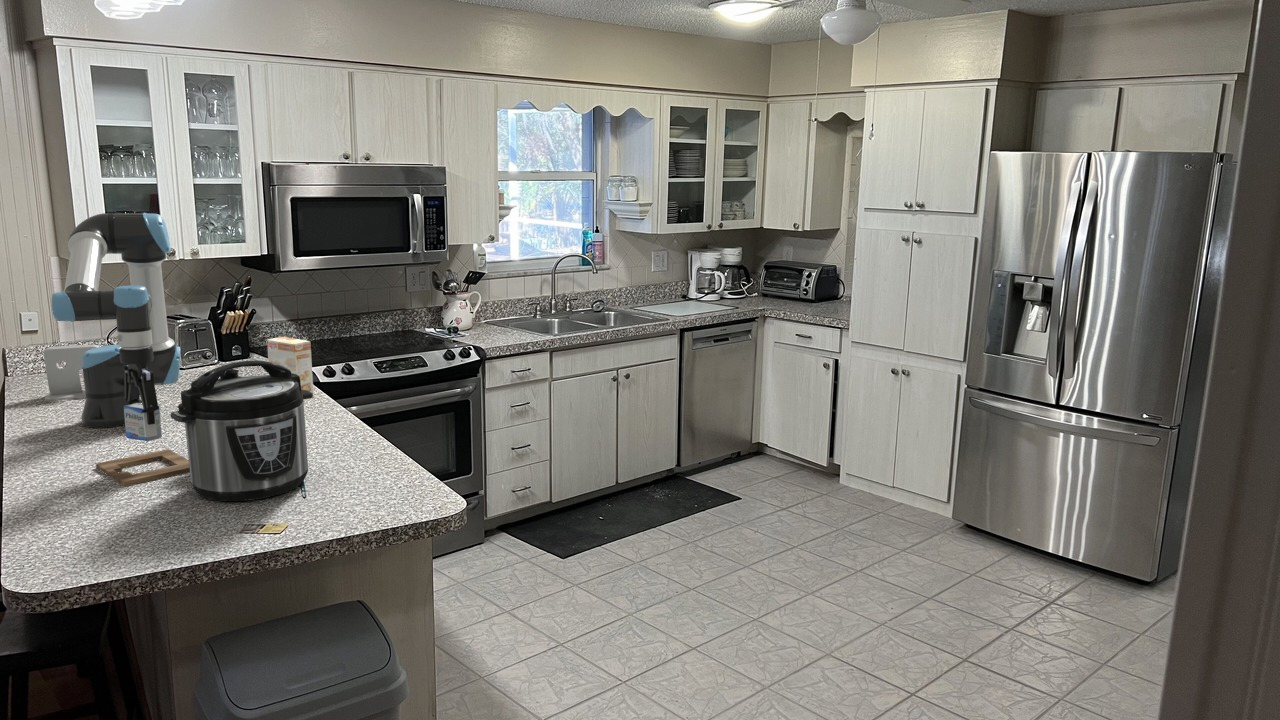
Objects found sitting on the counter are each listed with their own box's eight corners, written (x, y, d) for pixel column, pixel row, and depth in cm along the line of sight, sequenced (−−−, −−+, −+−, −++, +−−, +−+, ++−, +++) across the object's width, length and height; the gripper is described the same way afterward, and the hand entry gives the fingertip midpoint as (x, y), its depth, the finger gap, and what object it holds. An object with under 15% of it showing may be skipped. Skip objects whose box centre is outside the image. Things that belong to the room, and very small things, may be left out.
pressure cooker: (169, 511, 209) (157, 377, 202) (199, 472, 236) (188, 352, 229) (307, 503, 215) (299, 372, 209) (320, 465, 242) (313, 349, 236)
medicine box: (125, 438, 234) (122, 405, 233) (140, 434, 238) (137, 402, 237) (147, 441, 231) (144, 409, 230) (162, 437, 236) (159, 405, 234)
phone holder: (106, 389, 319) (100, 339, 315) (104, 396, 310) (99, 344, 306) (47, 394, 311) (41, 343, 307) (44, 401, 302) (38, 348, 298)
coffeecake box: (314, 396, 315) (311, 340, 311) (297, 400, 309) (293, 344, 305) (287, 389, 323) (283, 336, 319) (269, 393, 317) (265, 339, 313)
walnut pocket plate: (96, 468, 237) (95, 463, 237) (168, 453, 250) (168, 449, 250) (124, 486, 224) (123, 481, 224) (199, 469, 237) (198, 465, 237)
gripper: (104, 343, 235) (113, 427, 239) (135, 354, 221) (144, 443, 225) (135, 339, 240) (143, 422, 245) (168, 350, 226) (175, 437, 230)
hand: (144, 432), depth 235 cm, fingers closed on medicine box, 9 cm apart
